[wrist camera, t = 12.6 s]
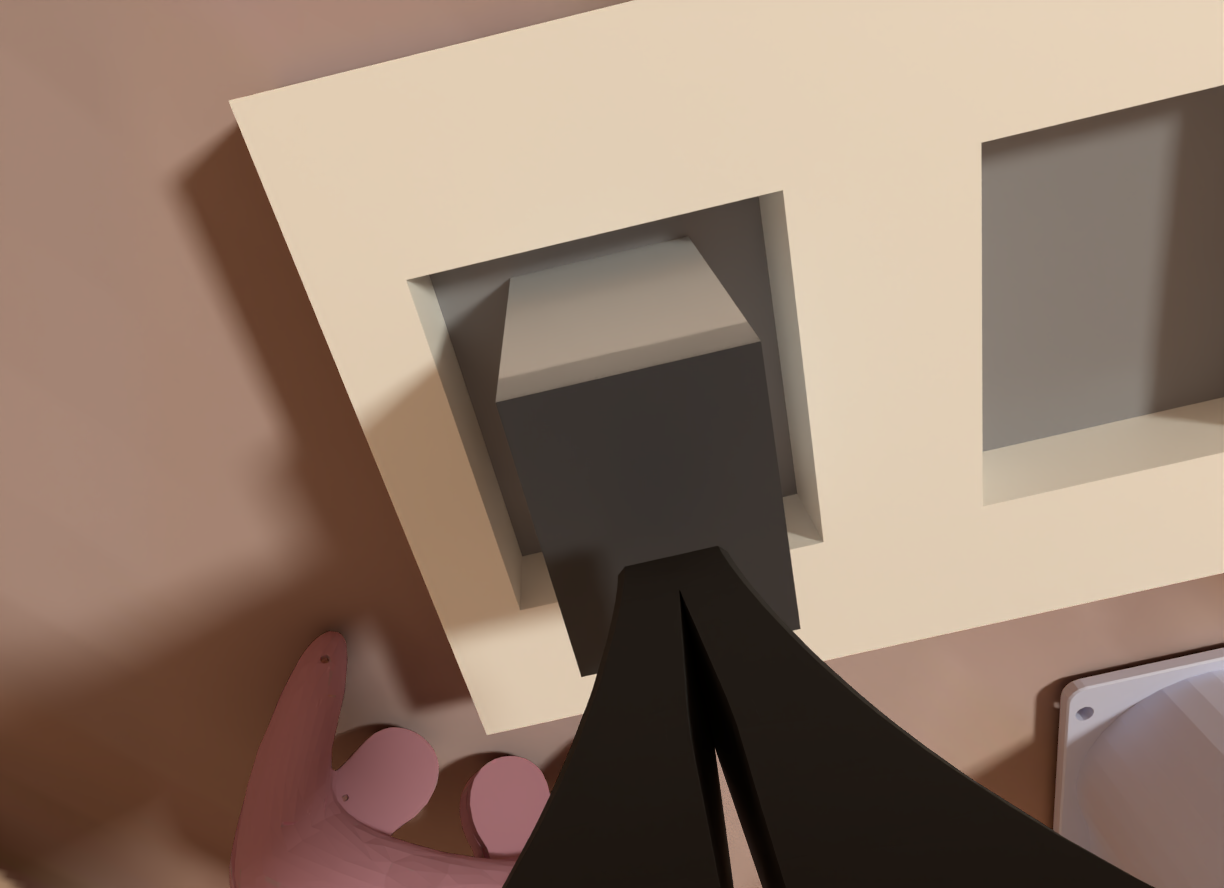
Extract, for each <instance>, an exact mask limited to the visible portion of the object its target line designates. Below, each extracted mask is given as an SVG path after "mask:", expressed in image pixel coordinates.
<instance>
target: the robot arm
mask: <svg viewBox="0 0 1224 888" xmlns="http://www.w3.org/2000/svg"><path fill="white" fill-rule="evenodd" d="M715 749H716V752H717V755H718V758H719V761H720V764H721V767H722V770H723V773H724V776H725V779H726V782H727V785H728V788H729V791H730V793H731V796H732V799H733V802H734V805H735V808H736V811H737V814H738V817H739V820H740V823H741V826H742V829H743V832H744V835H745V837H746V840H747V843H748V846H749V849H750V852H751V855H752V858H753V861H754V864H755V867H756V870H757V873H758V876H759V878H760V881H761V884H762V887H763V888H1224V648H1219V649H1214V650H1210V651H1205V652H1201V653H1196V654H1191V655H1187V656H1182V657H1178V658H1173V659H1168V660H1164V661H1159V662H1155V663H1150V664H1145V665H1141V666H1136V667H1132V668H1127V669H1122V670H1118V671H1113V672H1109V673H1104V674H1099V675H1095V676H1090V677H1086V678H1081V679H1077V680H1074V681H1072V682H1070V683H1069V684H1067V685H1066V686H1065V688H1064V689H1063V690H1062V694H1061V701H1060V719H1059V736H1058V754H1057V771H1056V789H1055V806H1054V824H1053V830H1052V829H1050V828H1049V827H1047V826H1046V825H1044V824H1042V823H1041V822H1039V821H1038V820H1036V819H1034V818H1033V817H1031V816H1030V815H1028V814H1026V813H1025V812H1023V811H1022V810H1020V809H1019V808H1017V807H1015V806H1014V805H1012V804H1011V803H1009V802H1007V801H1006V800H1004V799H1003V798H1001V797H999V796H998V795H996V794H995V793H993V792H991V791H990V790H988V789H987V788H985V787H983V786H982V785H980V784H979V783H977V782H975V781H974V780H973V779H971V778H970V777H968V776H967V775H965V774H964V773H962V772H961V771H960V770H958V769H957V768H955V767H954V766H952V765H951V764H950V763H948V762H947V761H945V760H944V759H943V758H941V757H940V756H938V755H937V754H936V753H934V752H933V751H931V750H930V749H929V748H927V747H926V746H924V745H923V744H922V743H920V742H919V741H918V740H917V739H915V738H914V737H913V736H911V735H910V734H909V733H907V732H906V731H905V730H903V729H902V728H901V727H899V726H898V725H897V724H896V723H894V722H893V721H892V720H890V719H889V718H888V717H887V716H885V715H884V714H883V713H882V712H881V711H879V710H878V709H877V708H876V707H874V706H873V705H872V704H871V703H870V702H868V701H867V700H866V699H865V698H864V697H863V696H861V695H860V694H859V693H858V692H857V691H856V690H854V689H853V688H852V687H851V686H850V685H849V684H848V683H847V682H845V681H844V680H843V679H842V678H841V677H840V676H839V675H838V674H837V673H835V672H834V671H833V670H832V669H831V668H830V667H829V666H828V665H827V664H826V663H825V662H823V661H822V660H821V659H820V658H819V657H818V656H817V655H816V654H815V653H814V652H813V651H812V650H811V649H810V648H809V647H808V646H807V645H806V644H805V643H804V642H803V641H802V640H801V639H800V638H799V637H798V636H797V635H796V634H795V633H794V632H793V631H792V630H791V629H790V628H789V627H788V626H787V625H786V624H785V623H784V622H783V621H782V619H781V618H780V617H779V616H778V615H777V614H776V613H775V612H774V611H773V610H772V609H771V607H770V606H769V605H768V604H767V603H766V602H765V601H764V599H763V598H762V597H761V596H760V595H759V593H758V592H757V591H756V590H755V589H754V588H753V586H752V585H751V584H750V583H749V581H748V580H747V579H746V578H745V576H744V575H743V574H742V572H741V571H740V570H739V568H738V567H737V565H736V564H735V562H734V561H733V560H732V558H731V556H730V555H729V553H728V551H726V550H724V549H723V548H721V547H719V546H714V547H710V548H705V549H701V550H696V551H692V552H687V553H683V554H679V555H674V556H670V557H665V558H661V559H656V560H652V561H647V562H643V563H638V564H634V565H629V566H625V567H624V568H623V570H622V571H621V572H620V574H619V575H618V583H617V593H616V600H615V605H614V611H613V616H612V620H611V624H610V629H609V633H608V637H607V641H606V645H605V648H604V652H603V655H602V658H601V662H600V665H599V669H598V672H597V675H596V679H595V682H594V686H593V689H592V692H591V695H590V698H589V700H588V703H587V706H586V708H585V711H584V714H583V716H582V719H581V722H580V724H579V727H578V730H577V732H576V735H575V738H574V740H573V743H572V746H571V748H570V751H569V753H568V756H567V758H566V760H565V763H564V765H563V767H562V770H561V772H560V774H559V777H558V779H557V781H556V783H555V786H554V788H553V790H552V792H551V794H550V796H549V798H548V800H547V803H546V805H545V807H544V809H543V811H542V813H541V815H540V817H539V819H538V821H537V823H536V825H535V827H534V829H533V831H532V833H531V835H530V837H529V839H528V840H527V842H526V844H525V846H524V848H523V850H522V852H521V853H520V855H519V857H518V859H517V861H516V863H515V865H514V866H513V868H512V870H511V872H510V874H509V876H508V878H507V879H506V881H505V883H504V885H503V886H502V888H734V887H733V879H732V872H731V864H730V857H729V850H728V842H727V835H726V827H725V820H724V812H723V805H722V798H721V790H720V783H719V775H718V768H717V761H716V754H715Z"/></svg>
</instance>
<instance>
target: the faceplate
mask: <svg viewBox="0 0 1224 888" xmlns="http://www.w3.org/2000/svg"><path fill="white" fill-rule="evenodd" d="M229 103H230V106H231V108H232V111H233V113H234V115H235V118H236V120H237V123H238V125H239V128H240V130H241V133H242V135H243V138H244V140H245V142H246V145H247V147H248V150H249V152H250V155H251V157H252V160H253V162H254V165H255V167H256V169H257V172H258V174H259V177H260V179H261V182H262V184H263V187H264V189H265V192H266V194H267V196H268V199H269V201H270V204H271V206H272V209H273V211H274V214H275V216H276V219H277V221H278V223H279V226H280V228H281V231H282V233H283V236H284V238H285V241H286V243H287V246H288V248H289V250H290V253H291V255H292V258H293V260H294V263H295V265H296V268H297V270H298V273H299V275H300V277H301V280H302V282H303V285H304V287H305V290H306V292H307V295H308V297H309V300H310V302H311V304H312V307H313V309H314V312H315V314H316V317H317V319H318V322H319V324H320V326H321V329H322V331H323V334H324V336H325V339H326V341H327V344H328V346H329V349H330V351H331V353H332V356H333V358H334V361H335V363H336V366H337V368H338V371H339V373H340V376H341V378H342V380H343V383H344V385H345V388H346V390H347V393H348V395H349V398H350V400H351V403H352V405H353V407H354V410H355V412H356V415H357V417H358V420H359V422H360V425H361V427H362V430H363V432H364V434H365V437H366V439H367V442H368V444H369V447H370V449H371V452H372V454H373V457H374V459H375V461H376V464H377V466H378V469H379V471H380V474H381V476H382V479H383V481H384V484H385V486H386V488H387V491H388V493H389V496H390V498H391V501H392V503H393V506H394V508H395V511H396V513H397V515H398V518H399V520H400V523H401V525H402V528H403V530H404V533H405V535H406V538H407V540H408V542H409V545H410V547H411V550H412V552H413V555H414V557H415V560H416V562H417V565H418V567H419V569H420V572H421V574H422V577H423V579H424V582H425V584H426V587H427V589H428V591H429V594H430V596H431V599H432V601H433V604H434V606H435V609H436V611H437V614H438V616H439V618H440V621H441V623H442V626H443V628H444V631H445V633H446V636H447V638H448V641H449V643H450V645H451V648H452V650H453V653H454V655H455V658H456V660H457V663H458V665H459V668H460V670H461V672H462V675H463V677H464V680H465V682H466V685H467V687H468V690H469V692H470V695H471V697H472V699H473V702H474V704H475V707H476V709H477V712H478V714H479V717H480V719H481V722H482V724H483V726H484V729H485V731H486V734H487V735H489V734H494V733H499V732H503V731H508V730H512V729H517V728H521V727H526V726H530V725H535V724H539V723H544V722H549V721H553V720H558V719H562V718H567V717H571V716H576V715H580V714H584V711H585V708H586V706H587V703H588V700H589V698H590V695H591V692H592V689H593V686H594V682H595V679H596V675H597V674H594V675H589V676H585V677H581V674H580V671H579V668H578V665H577V662H576V658H575V655H574V652H573V649H572V646H571V642H570V639H569V636H568V633H567V630H566V626H565V623H564V620H563V617H562V614H561V610H560V607H559V604H558V601H557V598H556V594H555V591H554V588H553V585H552V582H551V578H550V575H549V572H548V569H547V566H546V563H545V559H544V556H543V553H542V550H541V547H540V543H539V540H538V537H537V534H536V531H535V527H534V524H533V521H532V518H531V515H530V511H529V508H528V505H527V502H526V499H525V495H524V492H523V489H522V486H521V483H520V479H519V476H518V473H517V470H516V467H515V463H514V460H513V457H512V454H511V451H510V447H509V444H508V441H507V438H506V435H505V431H504V428H503V425H502V422H501V419H500V416H499V412H498V409H497V406H496V403H495V402H496V394H497V386H498V377H499V369H500V361H501V352H502V344H503V336H504V328H505V319H506V311H507V303H508V294H509V286H510V278H513V277H517V276H521V275H525V274H530V273H534V272H538V271H542V270H547V269H551V268H555V267H559V266H564V265H568V264H572V263H576V262H581V261H585V260H589V259H593V258H598V257H602V256H606V255H610V254H615V253H619V252H623V251H627V250H632V249H636V248H640V247H644V246H648V245H653V244H657V243H661V242H665V241H670V240H674V239H678V238H682V237H687V236H688V237H689V238H690V240H691V241H692V243H693V244H694V245H695V247H696V248H697V250H698V251H699V253H700V254H701V255H702V257H703V258H704V260H705V261H706V263H707V264H708V266H709V267H710V268H711V270H712V271H713V273H714V274H715V276H716V277H717V278H718V280H719V281H720V283H721V284H722V286H723V287H724V289H725V290H726V291H727V293H728V294H729V296H730V297H731V299H732V300H733V302H734V303H735V304H736V306H737V307H738V309H739V310H740V312H741V313H742V314H743V316H744V317H745V319H746V320H747V322H748V323H749V325H750V326H751V327H752V329H753V330H754V332H755V333H756V335H757V336H758V338H759V339H760V340H761V345H762V352H763V359H764V366H765V374H766V381H767V388H768V395H769V403H770V410H771V417H772V424H773V432H774V439H775V446H776V454H777V461H778V468H779V475H780V483H781V490H782V497H783V504H784V512H785V519H786V526H787V533H788V541H789V548H790V555H791V563H792V570H793V577H794V584H795V592H796V599H797V606H798V613H799V621H800V628H801V629H798V630H794V631H793V632H794V633H795V634H796V635H797V636H798V637H799V638H800V639H801V640H802V641H803V642H804V643H805V644H806V645H807V646H808V647H809V648H810V649H811V650H812V651H813V652H814V653H815V654H816V655H817V656H818V657H819V658H820V659H821V660H822V661H825V660H830V659H835V658H839V657H844V656H848V655H853V654H857V653H862V652H866V651H871V650H875V649H880V648H884V647H889V646H894V645H898V644H903V643H907V642H912V641H916V640H921V639H925V638H930V637H934V636H939V635H943V634H948V633H953V632H957V631H962V630H966V629H971V628H975V627H980V626H984V625H989V624H993V623H998V622H1003V621H1007V620H1012V619H1016V618H1021V617H1025V616H1030V615H1034V614H1039V613H1043V612H1048V611H1052V610H1057V609H1062V608H1066V607H1071V606H1075V605H1080V604H1084V603H1089V602H1093V601H1098V600H1102V599H1107V598H1111V597H1116V596H1121V595H1125V594H1130V593H1134V592H1139V591H1143V590H1148V589H1152V588H1157V587H1161V586H1166V585H1170V584H1175V583H1180V582H1184V581H1189V580H1193V579H1198V578H1202V577H1207V576H1211V575H1216V574H1220V573H1224V0H634V1H630V2H626V3H621V4H617V5H613V6H609V7H605V8H601V9H597V10H593V11H589V12H585V13H581V14H577V15H573V16H569V17H565V18H561V19H557V20H553V21H549V22H545V23H541V24H537V25H533V26H529V27H524V28H520V29H516V30H512V31H508V32H504V33H500V34H496V35H492V36H488V37H484V38H480V39H476V40H472V41H468V42H464V43H460V44H456V45H452V46H448V47H444V48H440V49H436V50H432V51H427V52H423V53H419V54H415V55H411V56H407V57H403V58H399V59H395V60H391V61H387V62H383V63H379V64H375V65H371V66H367V67H363V68H359V69H355V70H351V71H347V72H343V73H339V74H335V75H330V76H326V77H322V78H318V79H314V80H310V81H306V82H302V83H298V84H294V85H290V86H286V87H282V88H278V89H274V90H270V91H266V92H262V93H258V94H254V95H250V96H246V97H242V98H238V99H233V100H229Z"/></svg>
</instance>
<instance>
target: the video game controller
mask: <svg viewBox="0 0 1224 888" xmlns="http://www.w3.org/2000/svg"><path fill="white" fill-rule="evenodd" d="M346 671H347V646H346V642H345V639H344V637H343V636H342V635H341V634H340V633H338V632H333V631H328V632H326V633H324V634H322V635H321V636H319V637H318V638H317V639H315V640H314V641H313V642H312V643H311V644H310V645H309V646H308V648H307V649H306V650H305V652H304V653H303V655H302V656H301V657H300V659H299V661H298V663H297V665H296V666H295V668H294V670H293V672H292V673H291V675H290V677H289V679H288V681H287V683H286V685H285V687H284V689H283V691H282V694H281V696H280V698H279V700H278V703H277V705H276V708H275V710H274V713H273V715H272V718H271V721H270V723H269V726H268V728H267V730H266V733H265V735H264V737H263V739H262V742H261V744H260V746H259V749H258V752H257V755H256V759H255V762H254V765H253V769H252V772H251V775H250V779H249V782H248V785H247V790H246V794H245V798H244V802H243V806H242V810H241V814H240V817H239V821H238V825H237V829H236V833H235V838H234V843H233V848H232V853H231V859H230V867H229V870H230V886H231V888H502V886H503V885H504V883H505V881H506V879H507V878H508V876H509V874H510V872H511V870H512V868H513V866H514V865H515V863H516V861H517V859H518V857H519V855H520V853H521V852H522V850H523V848H524V846H525V844H526V842H527V840H528V839H529V837H530V835H531V833H532V831H533V829H534V827H535V825H536V823H537V821H538V819H539V817H540V815H541V813H542V811H543V809H544V807H545V805H546V803H547V800H548V798H549V796H550V792H549V788H548V784H547V782H546V780H545V778H544V775H543V773H542V772H541V771H540V769H539V768H538V767H537V766H536V765H535V764H533V763H532V762H531V761H529V760H527V759H525V758H521V757H517V756H505V757H500V758H497V759H494V760H492V761H490V762H488V763H487V764H486V765H484V766H483V767H482V768H481V769H480V770H479V771H477V772H476V773H475V774H474V775H473V776H472V777H471V778H470V779H469V781H468V782H467V783H466V785H465V787H464V789H463V791H462V795H461V798H460V811H459V812H460V818H461V823H462V829H463V831H464V834H465V837H466V839H467V841H468V843H469V845H470V847H471V849H472V850H473V853H474V857H470V856H464V855H458V854H451V853H445V852H441V851H437V850H434V849H430V848H427V847H423V846H419V845H416V844H412V843H409V842H406V841H403V840H400V839H397V838H394V837H391V835H392V834H393V833H394V832H395V831H396V830H398V829H399V828H400V827H402V826H403V825H404V824H405V823H407V822H408V821H410V820H411V819H412V818H414V817H415V816H416V815H417V814H418V813H419V812H420V811H421V810H422V808H423V807H424V806H425V805H426V804H427V803H428V801H429V799H430V798H431V796H432V794H433V792H434V790H435V787H436V785H437V781H438V776H439V765H438V760H437V756H436V754H435V752H434V749H433V748H432V747H431V745H430V744H429V743H428V742H427V741H426V740H425V739H424V738H423V737H422V736H420V735H419V734H417V733H415V732H413V731H411V730H408V729H405V728H400V727H391V728H386V729H383V730H381V731H379V732H377V733H374V734H373V735H372V736H371V737H370V738H368V739H366V740H365V742H364V743H363V744H362V745H361V746H360V747H359V748H358V749H357V750H356V751H355V752H354V753H353V754H352V755H351V757H350V758H349V759H348V760H347V761H346V762H345V763H344V764H343V765H342V766H341V767H340V768H339V769H338V770H336V771H334V770H333V769H332V746H333V742H334V737H335V733H336V728H337V724H338V719H339V715H340V710H341V706H342V701H343V697H344V692H345V683H346Z"/></svg>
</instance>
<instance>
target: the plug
mask: <svg viewBox="0 0 1224 888" xmlns="http://www.w3.org/2000/svg"><path fill="white" fill-rule="evenodd" d="M495 403H496V406H497V409H498V412H499V416H500V419H501V422H502V425H503V428H504V431H505V435H506V438H507V441H508V444H509V447H510V451H511V454H512V457H513V460H514V463H515V467H516V470H517V473H518V476H519V479H520V483H521V486H522V489H523V492H524V495H525V499H526V502H527V505H528V508H529V511H530V515H531V518H532V521H533V524H534V527H535V531H536V534H537V537H538V540H539V543H540V547H541V550H542V553H543V556H544V559H545V563H546V566H547V569H548V572H549V575H550V578H551V582H552V585H553V588H554V591H555V594H556V598H557V601H558V604H559V607H560V610H561V614H562V617H563V620H564V623H565V626H566V630H567V633H568V636H569V639H570V642H571V646H572V649H573V652H574V655H575V658H576V662H577V665H578V668H579V671H580V674H581V677H585V676H589V675H594V674H597V672H598V669H599V665H600V662H601V658H602V655H603V652H604V648H605V645H606V641H607V637H608V633H609V629H610V624H611V620H612V616H613V611H614V605H615V600H616V593H617V583H618V575H619V574H620V572H621V571H622V570H623V568H624V567H625V566H629V565H634V564H638V563H643V562H647V561H652V560H656V559H661V558H665V557H670V556H674V555H679V554H683V553H687V552H692V551H696V550H701V549H705V548H710V547H714V546H719V547H721V548H723V549H724V550H726V551H728V553H729V555H730V556H731V558H732V560H733V561H734V562H735V564H736V565H737V567H738V568H739V570H740V571H741V572H742V574H743V575H744V576H745V578H746V579H747V580H748V581H749V583H750V584H751V585H752V586H753V588H754V589H755V590H756V591H757V592H758V593H759V595H760V596H761V597H762V598H763V599H764V601H765V602H766V603H767V604H768V605H769V606H770V607H771V609H772V610H773V611H774V612H775V613H776V614H777V615H778V616H779V617H780V618H781V619H782V621H783V622H784V623H785V624H786V625H787V626H788V627H789V628H790V629H791V630H792V631H794V630H798V629H801V628H800V621H799V613H798V606H797V599H796V592H795V584H794V577H793V570H792V563H791V555H790V548H789V541H788V533H787V526H786V519H785V512H784V504H783V497H782V490H781V483H780V475H779V468H778V461H777V454H776V446H775V439H774V432H773V424H772V417H771V410H770V403H769V395H768V388H767V381H766V374H765V366H764V359H763V352H762V345H761V340H760V339H759V338H758V336H757V335H756V333H755V332H754V330H753V329H752V327H751V326H750V325H749V323H748V322H747V320H746V319H745V317H744V316H743V314H742V313H741V312H740V310H739V309H738V307H737V306H736V304H735V303H734V302H733V300H732V299H731V297H730V296H729V294H728V293H727V291H726V290H725V289H724V287H723V286H722V284H721V283H720V281H719V280H718V278H717V277H716V276H715V274H714V273H713V271H712V270H711V268H710V267H709V266H708V264H707V263H706V261H705V260H704V258H703V257H702V255H701V254H700V253H699V251H698V250H697V248H696V247H695V245H694V244H693V243H692V241H691V240H690V238H689V237H688V236H687V237H682V238H678V239H674V240H670V241H665V242H661V243H657V244H653V245H648V246H644V247H640V248H636V249H632V250H627V251H623V252H619V253H615V254H610V255H606V256H602V257H598V258H593V259H589V260H585V261H581V262H576V263H572V264H568V265H564V266H559V267H555V268H551V269H547V270H542V271H538V272H534V273H530V274H525V275H521V276H517V277H513V278H510V286H509V294H508V303H507V311H506V319H505V328H504V336H503V344H502V352H501V361H500V369H499V377H498V386H497V394H496V402H495Z"/></svg>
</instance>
